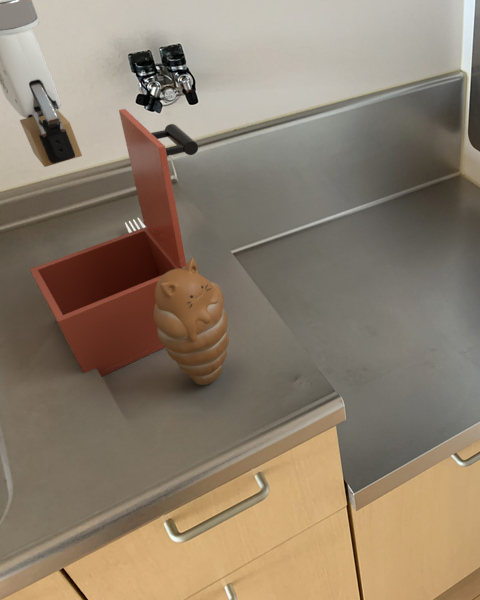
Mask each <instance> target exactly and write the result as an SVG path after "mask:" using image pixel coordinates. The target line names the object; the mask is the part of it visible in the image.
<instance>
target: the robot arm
mask: <svg viewBox="0 0 480 600" xmlns="http://www.w3.org/2000/svg"><path fill="white" fill-rule="evenodd" d="M39 24H40V19H39V16H38V13H37V10H36V7H35V5H34V3H33V0H0V88H1V90H2V92H3V95H4V97H5V99H6V100H7V101H8V103H9V104H10V105H11V107H12V108H13V109H14V110H15V111H16V112H17V114H18V115H19V116H21V117H23V118H24V119H25V118H29V117H34V120H35V122H36V124H37V126H38V128H39V131H40V133H41V135H39V137H40V139H41V141H42V144H43V146H44V149H45V151H46V153H47V156H48V158H49V160H50V162H51V163H53V165H56V164H55V163H57V164H59V163H58V162H60V163H62V162H61V161H63V162H66V161H65V160H67V161H69V160H68V159H70V160H72V159H71V158H73V159H75V158H74V157H75V153H74V151H73V148H72V145H71V143H70V140H69V138H68V135H67V132H66V130H65V129H64V127H63V124H62V122H61V120H60V118H59V115H58V113H57V111H56V110H58V111H59V110H60V109H61V106H62V102H61V100H60V96H59V93H58V91H57V87H56V85H55V82H54V79H53V76H52V74H51V72H50V68H49V66H48V64H47V61H46V59H45V57H44V53H43V51H42V49H41V45H40V44H39V41H38V39H37V36H36V34H35V32H34V29H33V28H35V27H37V26H38V25H39ZM40 116H44V119H45V120H43V123H42V122H41V120H40Z"/></svg>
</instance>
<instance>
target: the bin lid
mask: <svg viewBox="0 0 480 600" xmlns="http://www.w3.org/2000/svg"><path fill="white" fill-rule="evenodd" d="M118 112H119V118H120V122H121V126H122V131H123V135H124V141H125V144H126V148H127V153H128V158H129V163H130V167H131V173H132V176H133V180H134V181H133V182H134V185H135V189H136V194H137V199H138V203H139V207H140V213H141V216H142V223H143V224H144V225H145V226H146V227H147V228H148V229H149V230H150V232H151V233H152V234H153V235H154V236H155V238H156V239H157V240H158V241H159V242H160V244H161V245H162V246H163V247H164V248H165V249H166V251H167V252H168V253H169V254H170V255H171V257H172V258H173V259H174V260H175V261H176V262H177V264H178V265H179V266H180V267H181V268H182V267H183V268H185V266H186V264H187V260H186V254H185V250H184V244H183V243H184V242H183V238H182V233H181V227H180V221H179V216H178V209H177V205H176V199H175V194H174V189H173V182H172V177H171V171H170V165H169V161H168V156H173V155H176V154H177V155H178V154H180V153H185V154H186V155H188V156H194V155H195V154H197V152H198V150H199V145H198V143H197V141H195V140H194V139H193V138H191V136H189V135H188V134H187V133H186V132H185V131H184V130H182V129H181V128H180V127H179V126H177V125H176V124H174V123H170V124H167V125H166V126H165V128H164V129H163V130H158V131H154V132H151V131H150V130H148V129H147V128H146V127H145V126H144V125H143V124H142V123H141V122H140V121H139V120H137V118H136V117H134V115H132V114H131V112H129V111H128V110H127V109H126V108H122V109H119V110H118ZM165 138H168V139H169V140H170V141H171V142H172V143H174V144H175V145H173V146H169V147H166V146H165V144H164V143H162V142H161V141H160V140H161V139H165ZM159 139H160V140H159Z"/></svg>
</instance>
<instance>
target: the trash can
mask: <svg viewBox="0 0 480 600" xmlns="http://www.w3.org/2000/svg"><path fill="white" fill-rule="evenodd" d="M179 268H181V267H180V266H179V265H178V264H177V262H176V261H175V260H174V259H173V258H172V257H171V255H170V254H169V253H168V252H167V251H166V249H165V248H164V247H163V246H162V245H161V244H160V242H159V241H158V240H157V239H156V238H155V236H154V235H153V234H152V233H151V232H150V230H149V229H148V228H147V227H145V228H142V227H141V228H140V229H139V230H138V229H136V231H134V230H132V232H131V233H129V232H127V233H126V234H122V235H120V236H117V237H114V238H112V239H108V240H105V241H103V242H100V243H98V244H95V245H93V246H90V247H87V248H83V249H81V250H78V251H76V252H73V253H70V254H67V255H65V256H62V257H59V258H56V259H54V260H50V261H48V262H45V263H42V264H40V265H37V266H34V267H32V268H29V271H30V273H31V275H32V277H33V279H34V281H35V283H36V285H37V287H38V289H39V291H40V293H41V294H42V296H43V299H44V301H45V303H46V304H47V306H48V308H49V311H50V312H51V314H52V316H53V318H54V321H55V322H56V324H57V326H58V328H59V329H60V331H61V333H62V335H63V337H64V339H65V340H66V342H67V344H68V346H69V348H70V350H71V352H72V353H73V354H72V355H74V357H75V359H76V361H77V363H78V364H79V366H80V368H81V370H82V373H83V374H86V373H89V372H90V371H93V370H95V369H96V370H97V372H98V373H99V376H100V377H104V376H106V375H108V374H111V373H113V372H115V371H118V370H119V369H122V368H124V367H126V366H127V365H130V364H132V363H134V362H136V361H138V360H141V359H143V358H145V357H148V356H150V355H151V354H153V353H156V352H158V351H160V350H162V349H164V348H165V349H166V347H165V346H164V345H163V344H162V343H161V342H160V340H159V338H158V334H157V325H156V323H155V321H154V306H155V303H156V300H155V288H156V285H157V282H158V280H159V279H160V278H161V277H162V276H163V275H164V274H165V273H167V272H168V271H171V270H173V269H179ZM182 268H184V267H182Z"/></svg>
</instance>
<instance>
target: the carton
mask: <svg viewBox="0 0 480 600" xmlns="http://www.w3.org/2000/svg"><path fill="white" fill-rule="evenodd" d="M56 111H57V113H58V115H59V118H60V120H61V122H62V124H63V127H64V129H65V130H66V132H67V135H68V138H69V140H70V143H71V145H72V148H73V151H74V153H75V157H74V158H71V159H68V160H65V161H61V162H58V163H55V164H53V163H51V162H50V160H49V158H48V156H47V153H46V151H45V149H44V146H43V144H42V141H41V139H40V137H39V135H41V133H40V131H39V128H38V126H37V124H36V122H35V120H34V117H29V118H25V117H24V118H22V119H19V122H20V124H21V127H22V129H23V131H24V134H25V136H26V138H27V141H28V143H29V145H30V148H31V150H32V152H33V154H34V156H35V157H36V158H37V160H38V161H39V162H40V163H41V165H42V166H43V167H44V168H46V167H50V166H53V165H56V164H57V165H58V164H60V163H63V162H66V161H70V160H73V159H76V158H79V157H82V156H83V154H82V151H81V148H80V146H79V144H78V140H77V138H76V135H75V133H74V130H73V127H72V124H71V122H70V121H69V120H68V119H67V118H66V117H65V116H64V114H62V112H60V111H59V109H58V110H57V109H56ZM40 120H41V122H42V123H43V120H45V119H44V116H40Z"/></svg>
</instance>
